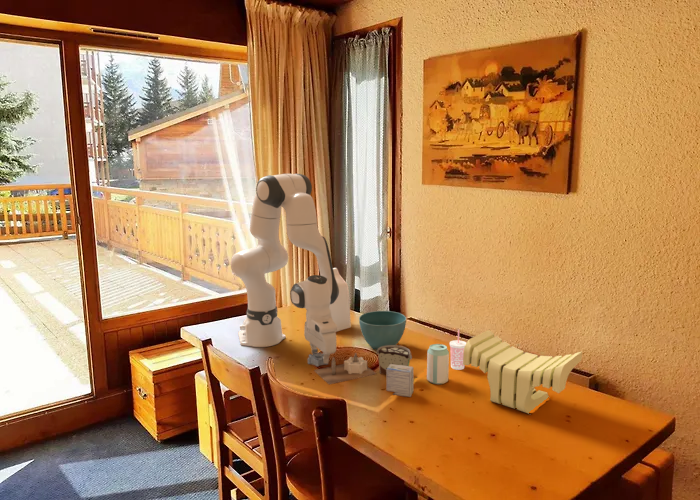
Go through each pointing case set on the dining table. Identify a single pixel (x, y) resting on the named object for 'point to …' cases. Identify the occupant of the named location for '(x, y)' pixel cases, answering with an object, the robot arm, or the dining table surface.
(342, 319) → the milk
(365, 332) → the teal bowl
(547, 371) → the slatted curved stool
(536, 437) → the dining table surface
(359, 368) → the cream gear
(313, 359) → the blue gear
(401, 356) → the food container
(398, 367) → the medicine box
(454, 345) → the beverage cup
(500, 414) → the dining table surface
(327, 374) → the gear board
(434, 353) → the can
